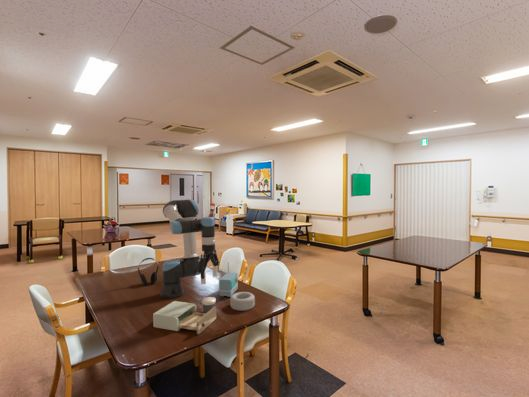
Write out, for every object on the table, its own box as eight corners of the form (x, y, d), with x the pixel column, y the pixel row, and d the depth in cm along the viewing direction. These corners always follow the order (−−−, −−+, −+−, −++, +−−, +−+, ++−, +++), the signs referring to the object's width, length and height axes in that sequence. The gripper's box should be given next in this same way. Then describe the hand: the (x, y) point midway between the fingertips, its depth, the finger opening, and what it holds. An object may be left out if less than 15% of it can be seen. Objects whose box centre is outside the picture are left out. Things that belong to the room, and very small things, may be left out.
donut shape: (234, 313, 166) (234, 302, 166) (227, 304, 180) (227, 293, 180) (258, 308, 172) (258, 297, 172) (249, 299, 186) (249, 289, 186)
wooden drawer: (173, 329, 148) (172, 317, 147) (192, 314, 164) (192, 303, 164) (200, 334, 142) (200, 321, 142) (218, 318, 159) (217, 307, 159)
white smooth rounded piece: (199, 304, 165) (199, 301, 165) (206, 299, 173) (206, 296, 173) (211, 305, 162) (211, 303, 162) (218, 300, 170) (218, 297, 170)
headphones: (137, 284, 220) (136, 258, 219) (157, 280, 228) (156, 255, 227) (139, 287, 212) (138, 260, 212) (160, 283, 221) (159, 257, 220)
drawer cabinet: (153, 326, 152) (153, 313, 151) (174, 312, 168) (174, 300, 168) (177, 331, 147) (177, 317, 146) (196, 316, 164) (196, 303, 163)
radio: (232, 298, 189) (231, 268, 188) (219, 297, 191) (218, 267, 190) (239, 289, 205) (238, 261, 204) (227, 288, 206) (226, 261, 206)
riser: (203, 313, 166) (202, 303, 166) (207, 310, 171) (207, 300, 171) (210, 314, 165) (210, 304, 164) (215, 311, 169) (214, 301, 169)
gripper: (202, 248, 154) (204, 288, 155) (223, 240, 177) (224, 274, 178) (190, 248, 156) (191, 286, 157) (213, 239, 180) (214, 273, 181)
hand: (209, 280), depth 168 cm, fingers open, 13 cm apart
